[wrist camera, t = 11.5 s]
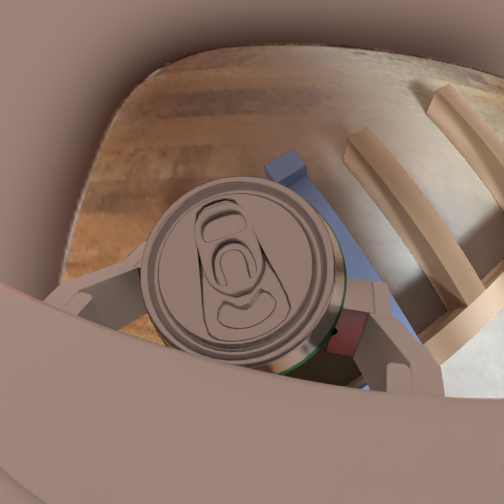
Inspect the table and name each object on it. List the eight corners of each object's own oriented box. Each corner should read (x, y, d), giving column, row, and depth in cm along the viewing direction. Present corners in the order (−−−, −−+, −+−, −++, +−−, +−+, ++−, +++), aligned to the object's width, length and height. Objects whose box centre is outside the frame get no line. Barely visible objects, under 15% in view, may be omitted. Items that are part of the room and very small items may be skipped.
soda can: (245, 375, 17) (153, 410, 6) (220, 292, 19) (113, 204, 8) (331, 348, 17) (388, 340, 6) (303, 265, 19) (303, 136, 8)
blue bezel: (294, 165, 18) (293, 148, 16) (434, 374, 14) (447, 378, 12) (142, 261, 18) (127, 254, 17) (266, 475, 14) (261, 489, 13)
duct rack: (438, 107, 21) (448, 83, 18) (540, 245, 17) (562, 235, 14) (166, 272, 21) (145, 263, 18) (272, 453, 17) (265, 472, 14)
